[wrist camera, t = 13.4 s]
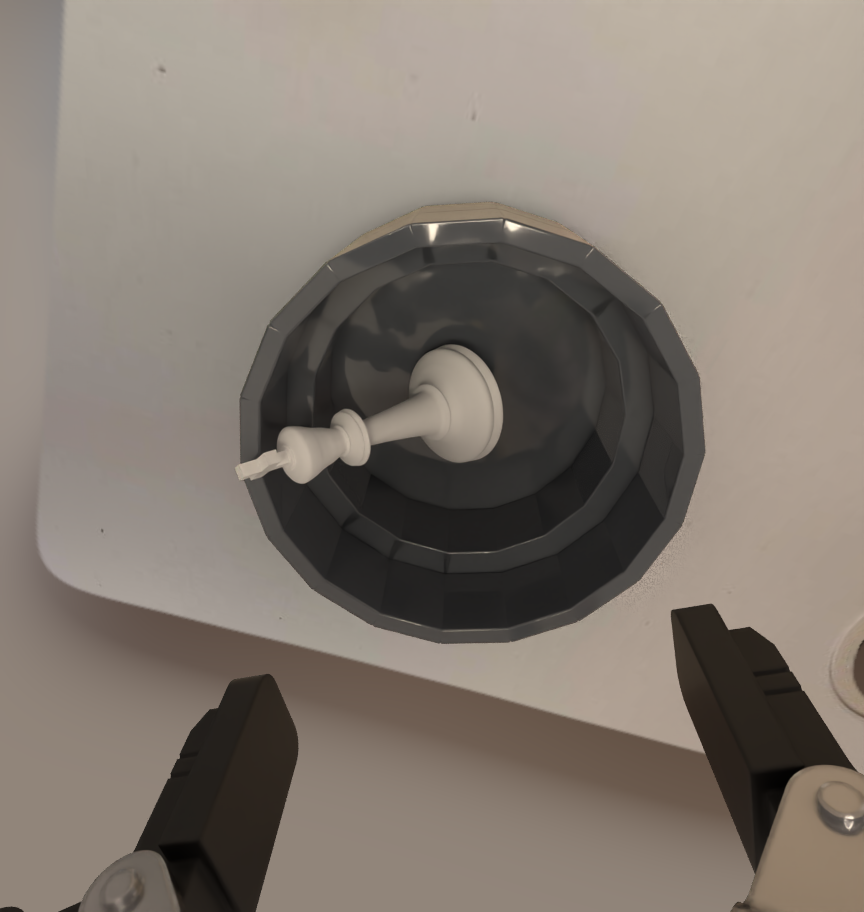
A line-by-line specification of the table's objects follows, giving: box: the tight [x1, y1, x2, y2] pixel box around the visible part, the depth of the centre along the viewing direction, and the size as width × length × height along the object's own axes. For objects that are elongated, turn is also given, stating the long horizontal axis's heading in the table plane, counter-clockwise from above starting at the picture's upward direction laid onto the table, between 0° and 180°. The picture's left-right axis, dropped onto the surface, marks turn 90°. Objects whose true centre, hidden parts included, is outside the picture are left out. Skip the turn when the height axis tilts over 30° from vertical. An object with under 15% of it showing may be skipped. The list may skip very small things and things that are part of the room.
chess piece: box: [235, 344, 503, 484], centre depth 24 cm, size 5×5×10 cm
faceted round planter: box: [240, 202, 705, 644], centre depth 25 cm, size 15×16×8 cm
